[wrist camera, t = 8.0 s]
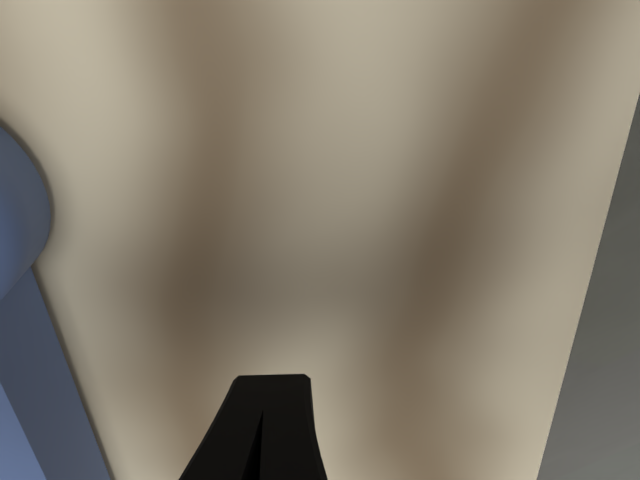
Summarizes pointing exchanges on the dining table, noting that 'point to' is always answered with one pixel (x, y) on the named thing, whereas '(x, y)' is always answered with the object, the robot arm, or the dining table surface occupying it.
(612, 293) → the dining table surface
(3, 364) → the link
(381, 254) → the board
